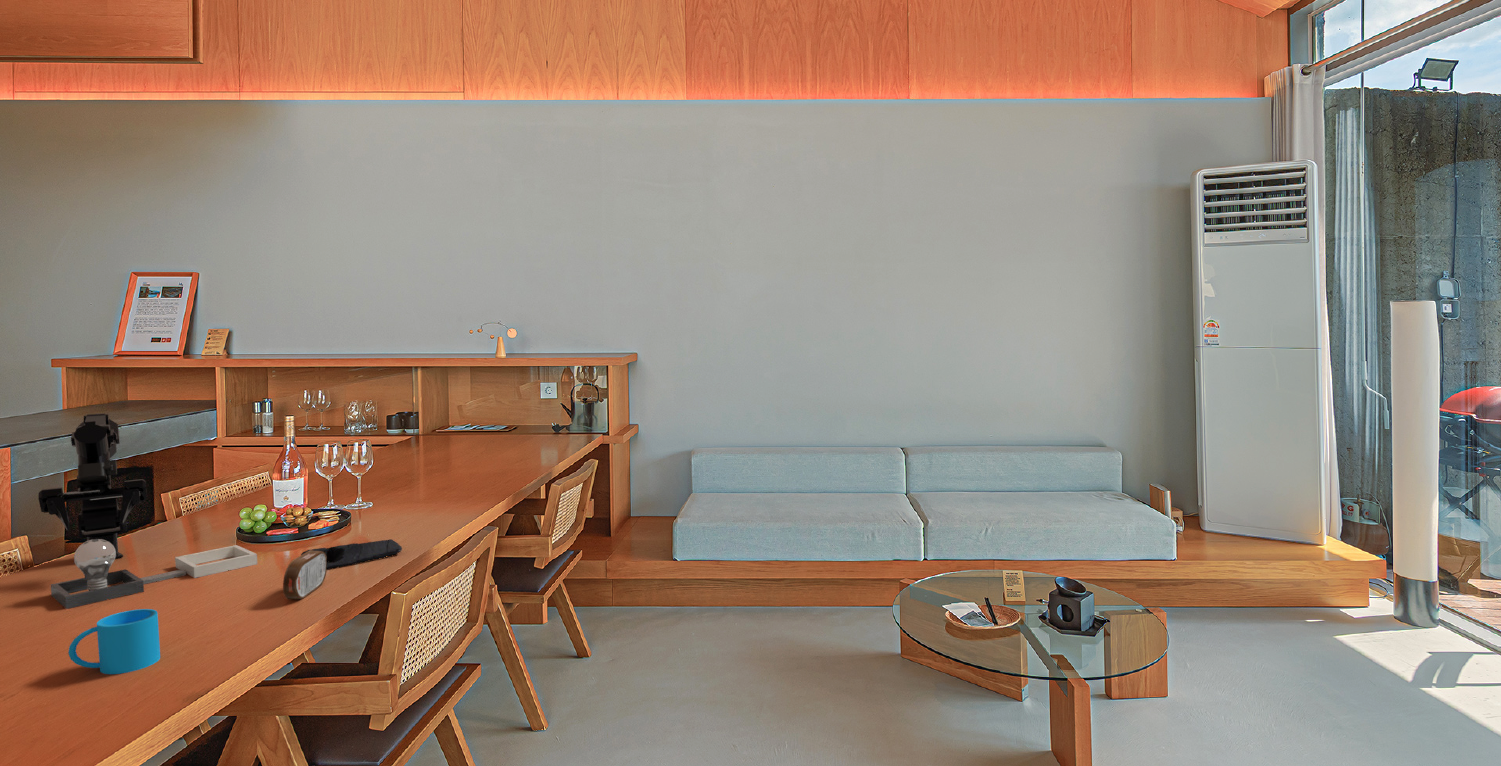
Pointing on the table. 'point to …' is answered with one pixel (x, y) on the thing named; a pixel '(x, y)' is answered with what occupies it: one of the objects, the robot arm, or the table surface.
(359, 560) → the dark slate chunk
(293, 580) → the tin
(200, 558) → the collar
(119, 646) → the mug
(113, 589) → the collar
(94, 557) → the light bulb
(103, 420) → the robot arm
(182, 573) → the rail strip
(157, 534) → the table surface
